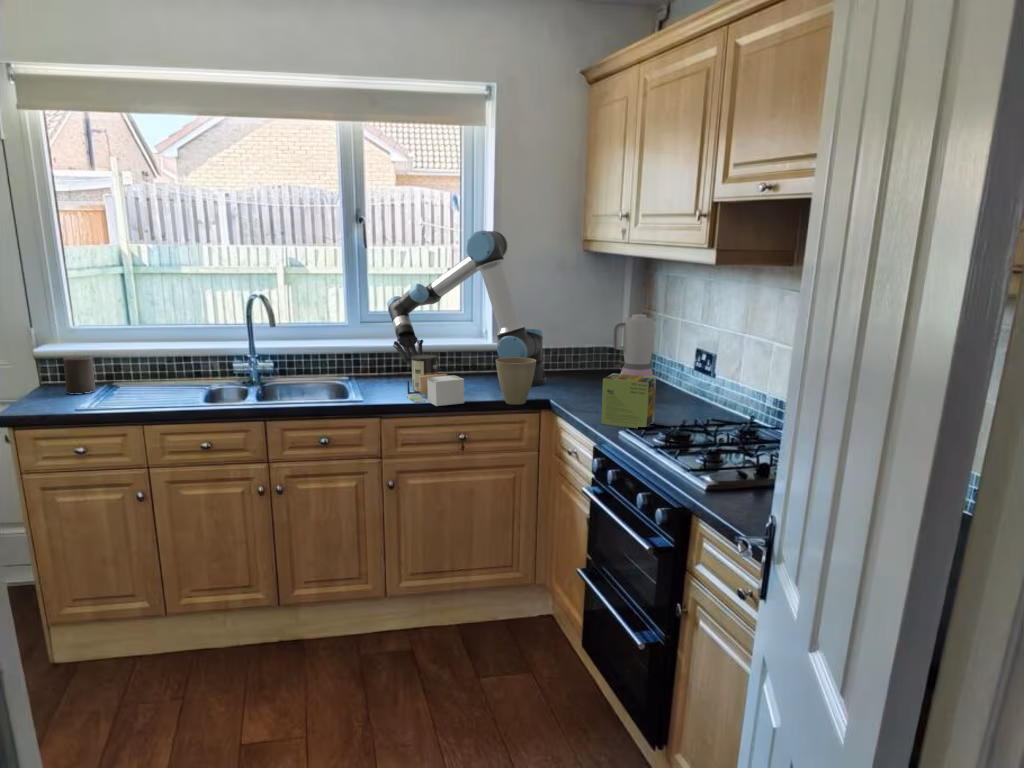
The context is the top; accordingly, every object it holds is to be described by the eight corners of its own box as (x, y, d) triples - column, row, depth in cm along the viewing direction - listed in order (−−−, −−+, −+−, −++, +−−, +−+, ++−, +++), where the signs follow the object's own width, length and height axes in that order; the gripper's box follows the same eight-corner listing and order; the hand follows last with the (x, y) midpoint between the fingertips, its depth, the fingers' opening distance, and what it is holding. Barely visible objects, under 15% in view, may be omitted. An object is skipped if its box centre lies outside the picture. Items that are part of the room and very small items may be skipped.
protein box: (647, 429, 221) (649, 382, 218) (600, 424, 227) (602, 377, 224) (654, 422, 230) (657, 376, 227) (610, 417, 237) (611, 372, 234)
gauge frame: (444, 393, 272) (444, 370, 270) (464, 403, 256) (464, 379, 254) (405, 397, 265) (405, 374, 263) (423, 407, 249) (422, 382, 247)
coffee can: (439, 388, 280) (439, 354, 278) (436, 394, 270) (436, 358, 267) (414, 388, 281) (413, 354, 278) (410, 394, 270) (409, 358, 268)
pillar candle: (73, 396, 263) (68, 357, 260) (62, 392, 269) (58, 354, 266) (100, 392, 271) (96, 354, 268) (89, 388, 276) (85, 351, 273)
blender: (647, 395, 270) (650, 313, 264) (656, 402, 259) (661, 316, 252) (607, 396, 269) (610, 313, 262) (615, 403, 257) (618, 316, 250)
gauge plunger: (445, 391, 271) (445, 373, 269) (453, 395, 264) (453, 377, 263) (407, 395, 264) (406, 377, 262) (414, 399, 257) (413, 380, 256)
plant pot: (541, 405, 253) (542, 362, 250) (503, 408, 248) (503, 364, 245) (527, 396, 267) (527, 355, 264) (490, 399, 262) (490, 357, 259)
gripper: (416, 333, 297) (431, 378, 286) (387, 335, 291) (401, 381, 280) (420, 322, 291) (435, 368, 280) (390, 324, 285) (405, 370, 274)
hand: (418, 374), depth 280 cm, fingers closed
